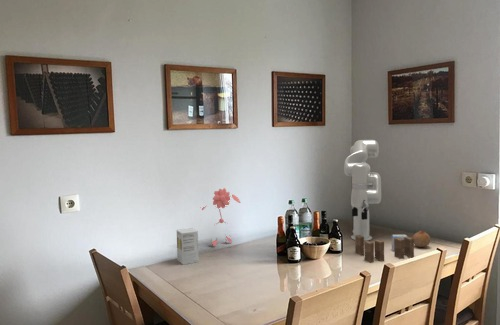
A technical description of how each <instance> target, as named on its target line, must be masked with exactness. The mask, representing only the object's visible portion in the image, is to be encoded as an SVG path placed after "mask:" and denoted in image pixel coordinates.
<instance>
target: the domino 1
mask: <svg viewBox="0 0 500 325" xmlns="http://www.w3.org/2000/svg"><path fill="white" fill-rule="evenodd" d="M354 242H355V244H354V245H355V248H354V249H355V250H354V251H355V254H357V255H358V254H359V255H358V256H365V241H364V237H363V236H361V235H355V240H354Z"/></svg>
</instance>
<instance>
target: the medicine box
mask: <svg viewBox="0 0 500 325" xmlns="http://www.w3.org/2000/svg"><path fill="white" fill-rule="evenodd" d="M404 237H408V235H407V234H391V250H392V252H394V238H401V239H403V240H404Z"/></svg>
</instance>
